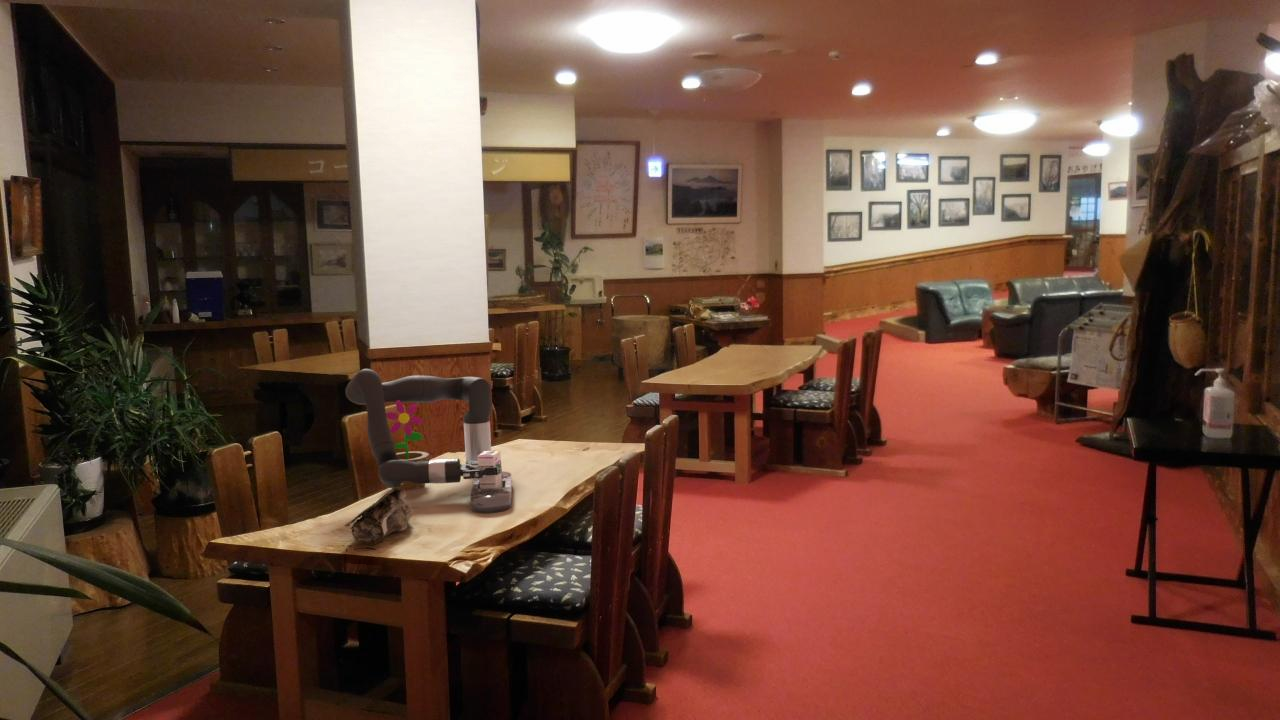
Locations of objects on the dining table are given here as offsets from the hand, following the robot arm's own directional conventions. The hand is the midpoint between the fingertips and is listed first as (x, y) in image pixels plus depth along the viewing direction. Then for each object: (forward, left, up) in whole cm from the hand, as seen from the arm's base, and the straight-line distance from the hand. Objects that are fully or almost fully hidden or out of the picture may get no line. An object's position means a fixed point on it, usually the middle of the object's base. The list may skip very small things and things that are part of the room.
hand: (497, 468), depth 286 cm
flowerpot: (-22, -31, -9) cm, 39 cm away
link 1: (-6, -2, -9) cm, 11 cm away
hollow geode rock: (+32, -32, -10) cm, 46 cm away
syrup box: (0, -2, -9) cm, 10 cm away
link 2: (+6, -2, -9) cm, 11 cm away
